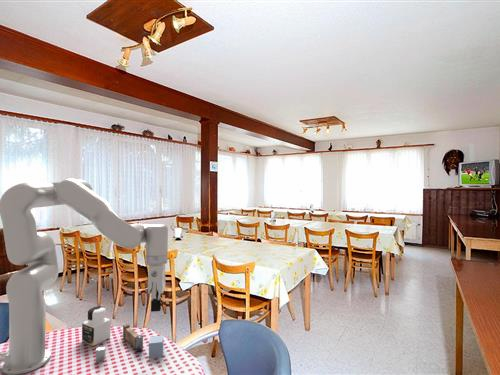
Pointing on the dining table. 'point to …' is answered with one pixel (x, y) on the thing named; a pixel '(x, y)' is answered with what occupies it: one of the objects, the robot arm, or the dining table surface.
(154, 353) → the block
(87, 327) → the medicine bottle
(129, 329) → the tan wooden plank
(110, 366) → the dining table surface
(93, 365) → the dining table surface
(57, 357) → the dining table surface
